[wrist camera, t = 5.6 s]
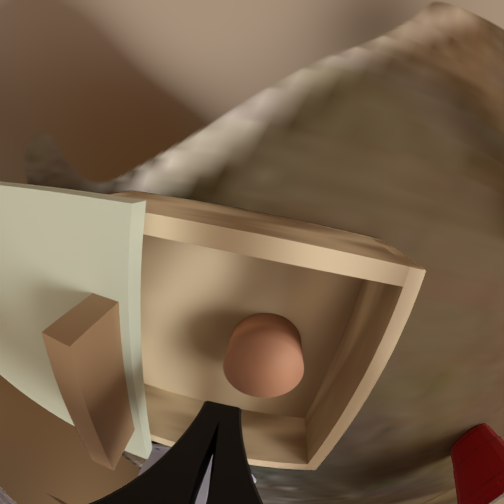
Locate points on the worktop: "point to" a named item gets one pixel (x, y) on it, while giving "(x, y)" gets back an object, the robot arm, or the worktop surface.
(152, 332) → the storage box
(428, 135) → the worktop surface
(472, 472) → the plastic cup
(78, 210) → the lid
